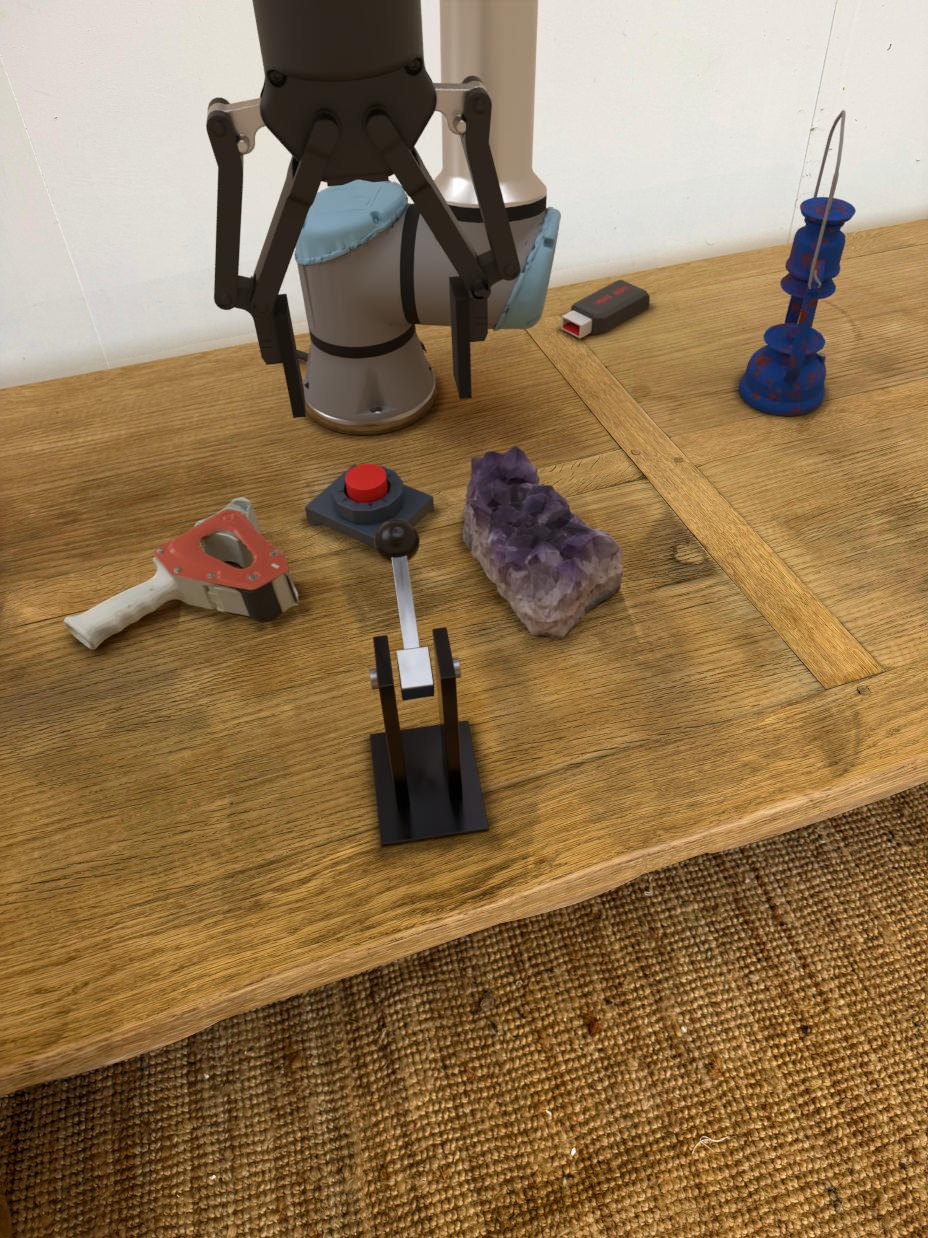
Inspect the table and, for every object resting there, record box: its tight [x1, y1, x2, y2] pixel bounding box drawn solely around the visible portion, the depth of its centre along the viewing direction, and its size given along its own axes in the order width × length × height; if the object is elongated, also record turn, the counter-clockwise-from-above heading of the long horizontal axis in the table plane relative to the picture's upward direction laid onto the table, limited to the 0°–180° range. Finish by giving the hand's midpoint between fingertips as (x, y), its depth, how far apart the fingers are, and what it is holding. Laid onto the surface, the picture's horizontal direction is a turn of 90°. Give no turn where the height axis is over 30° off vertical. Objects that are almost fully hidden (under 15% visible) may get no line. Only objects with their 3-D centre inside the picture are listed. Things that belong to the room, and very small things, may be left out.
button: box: [345, 463, 388, 503], centre depth 91 cm, size 4×4×2 cm
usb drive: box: [560, 279, 651, 339], centre depth 118 cm, size 5×12×3 cm, turn 133°
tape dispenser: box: [63, 497, 300, 651], centre depth 86 cm, size 18×5×20 cm
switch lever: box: [374, 519, 435, 701], centre depth 64 cm, size 13×3×3 cm, turn 9°
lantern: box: [738, 109, 857, 417], centre depth 96 cm, size 11×9×30 cm
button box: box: [304, 463, 435, 549], centre depth 93 cm, size 10×8×4 cm
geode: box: [462, 445, 624, 640], centre depth 86 cm, size 20×12×10 cm, turn 30°
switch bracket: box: [368, 626, 490, 848], centre depth 67 cm, size 10×8×16 cm
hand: (381, 395), depth 57 cm, fingers open, 9 cm apart
